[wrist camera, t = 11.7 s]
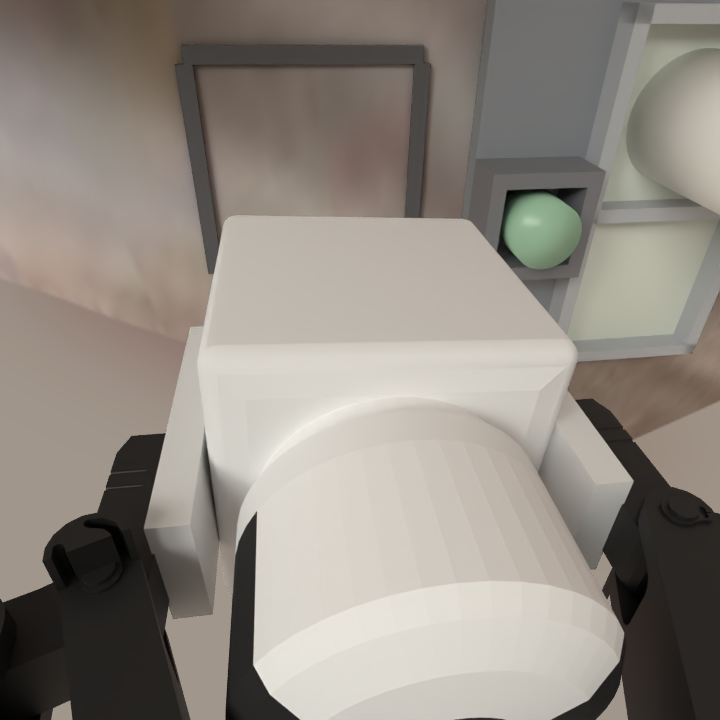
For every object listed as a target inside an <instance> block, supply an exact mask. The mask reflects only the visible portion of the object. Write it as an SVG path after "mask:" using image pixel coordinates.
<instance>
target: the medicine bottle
mask: <svg viewBox="0 0 720 720" xmlns="http://www.w3.org/2000/svg"><path fill="white" fill-rule="evenodd" d="M577 361H578V351H577V348H576V346H575V345H574V343H573V342H572V341H571V340H570V338H569V337H568V336H567V335H566V334H565V332H564V331H563V330H562V329H561V328H560V327H559V325H558V324H557V323H556V322H555V321H554V319H553V318H552V317H551V316H550V315H549V313H548V312H547V311H546V310H545V309H544V308H543V306H542V305H541V304H540V303H539V302H538V300H537V299H536V298H535V297H534V296H533V294H532V293H531V292H530V291H529V290H528V289H527V287H526V286H525V285H524V284H523V283H522V281H521V280H520V279H519V278H518V277H517V275H516V274H515V273H514V272H513V271H512V270H511V268H510V267H509V266H508V265H507V264H506V262H505V261H504V260H503V259H502V258H501V256H500V255H499V254H498V253H497V252H496V251H495V249H494V248H493V247H492V246H491V245H490V243H489V242H488V241H487V240H486V239H485V237H484V236H483V235H482V234H481V233H480V231H479V230H478V229H477V228H476V227H475V226H474V224H473V223H472V222H471V221H469V220H465V219H448V218H387V217H326V216H265V215H234V216H230V217H229V218H228V219H227V220H226V221H225V222H224V225H223V230H222V235H221V240H220V245H219V250H218V256H217V261H216V266H215V271H214V276H213V281H212V287H211V292H210V297H209V302H208V307H207V312H206V318H205V323H204V328H203V333H202V338H201V343H200V348H199V354H198V359H197V370H198V378H199V386H200V394H201V402H202V410H203V418H204V425H205V433H206V441H207V449H208V457H209V465H210V473H211V481H212V489H213V496H214V504H215V512H216V520H217V527H218V533H219V544H220V551H221V559H222V567H223V575H224V582H225V586H226V589H227V590H228V592H230V593H231V594H233V599H232V617H231V633H230V649H229V664H228V680H227V681H228V682H227V697H226V720H596V719H597V718H598V717H599V716H600V715H601V713H602V712H603V711H604V710H605V709H606V708H607V707H608V705H609V704H610V702H611V701H612V699H613V698H614V696H615V694H616V692H617V689H618V687H619V685H620V680H621V674H622V669H623V663H624V657H625V651H626V641H625V634H624V631H623V629H622V627H621V625H620V623H619V621H618V619H617V617H616V616H615V614H614V612H613V610H612V608H611V606H610V605H609V603H608V601H607V599H606V597H605V595H604V594H603V592H602V590H601V588H600V586H599V585H598V583H597V581H596V579H595V577H594V575H593V574H592V572H591V570H590V568H589V566H588V564H587V562H586V561H585V559H584V557H583V555H582V553H581V551H580V550H579V548H578V546H577V544H576V542H575V540H574V539H573V537H572V535H571V533H570V531H569V529H568V528H567V526H566V524H565V522H564V520H563V518H562V517H561V515H560V513H559V511H558V509H557V507H556V506H555V504H554V502H553V500H552V498H551V496H550V495H549V493H548V491H547V489H546V487H545V485H544V484H543V482H542V480H541V478H540V476H539V474H538V472H539V469H540V466H541V463H542V460H543V457H544V455H545V452H546V449H547V446H548V443H549V440H550V438H551V435H552V432H553V429H554V426H555V423H556V421H557V418H558V415H559V412H560V409H561V406H562V403H563V401H564V398H565V395H566V392H567V389H568V386H569V384H570V381H571V378H572V375H573V372H574V369H575V367H576V364H577Z"/></svg>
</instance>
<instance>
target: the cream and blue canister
mask: <svg viewBox="0 0 720 720" xmlns="http://www.w3.org/2000/svg"><path fill="white" fill-rule="evenodd" d="M626 147H627V152H628V156H629V158H630V160H631V163H632V164H633V166H634V167H635V168H636V169H637V170H638V171H639V172H640V173H641V174H642V175H644V176H645V177H647V178H649V179H651V180H653V181H655V182H657V183H659V184H661V185H663V186H665V187H667V188H669V189H670V190H672V191H674V192H676V193H678V194H680V195H682V196H684V197H686V198H688V199H690V200H692V201H694V202H696V203H698V204H700V205H701V206H703V207H705V208H707V209H709V210H711V211H713V212H715V213H717V214H719V215H720V49H717V48H701V49H696V50H693V51H690V52H687V53H685V54H683V55H680V56H678V57H677V58H675V59H673V60H672V61H670V62H669V63H668V64H666V65H665V66H664V67H662V68H661V69H660V70H659V71H658V72H657V73H656V74H655V75H654V76H653V77H652V78H651V79H650V81H649V82H648V83H647V84H646V86H645V87H644V88H643V90H642V91H641V93H640V95H639V96H638V98H637V100H636V102H635V104H634V106H633V108H632V111H631V114H630V116H629V120H628V124H627V130H626Z"/></svg>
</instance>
